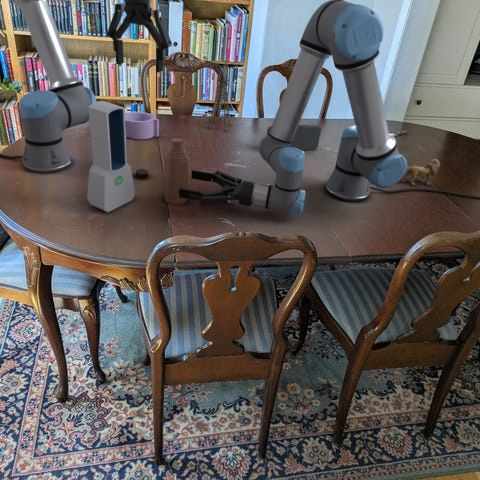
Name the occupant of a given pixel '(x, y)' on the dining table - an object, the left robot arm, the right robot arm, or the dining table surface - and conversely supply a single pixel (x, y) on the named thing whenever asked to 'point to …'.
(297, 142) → the handheld gaming console
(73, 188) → the dining table surface
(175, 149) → the bottle
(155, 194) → the dining table surface
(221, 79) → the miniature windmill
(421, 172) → the lion figurine
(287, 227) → the dining table surface
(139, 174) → the cap
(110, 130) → the electronic device
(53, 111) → the left robot arm
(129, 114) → the clip
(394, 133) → the sword
